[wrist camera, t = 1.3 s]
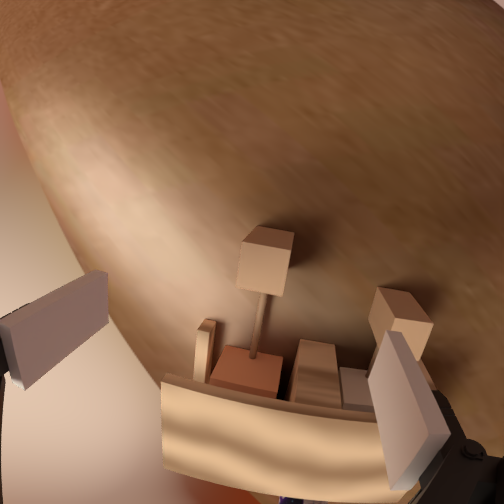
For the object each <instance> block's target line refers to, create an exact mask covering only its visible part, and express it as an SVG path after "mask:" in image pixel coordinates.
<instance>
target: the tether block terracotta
mask: <svg viewBox="0 0 504 504" xmlns="http://www.w3.org/2000/svg"><path fill="white" fill-rule="evenodd" d="M293 239H294V232H289V231H284V230H278V229H273V228H267V227H261V226H256V227H255V228H254V229H253V231H252V232H251V233H250V234H249V235H248V236H247V237H246V238H245V239H244V240H243V241H242V246H241V253H240V259H239V266H238V273H237V280H236V288H241V289H246V290H251V291H256V292H260V296H259V302H258V307H257V313H256V319H255V325H254V330H253V336H252V342H251V347H250V350H246V349H241V348H237V347H232V346H228V345H225V347H224V350H223V352H222V354H221V356H220V358H219V360H218V362H217V364H216V366H215V368H214V370H213V372H212V374H211V376H210V382H209V385H213V386H217V387H221V388H226V389H230V390H234V391H239V392H243V393H248V394H252V395H257V396H262V397H267V398H272V399H276V396H277V392H278V386H279V380H280V374H281V367H282V361H283V357H281V356H275V355H270V354H265V353H260V352H257V349H258V344H259V338H260V333H261V328H262V322H263V317H264V312H265V306H266V301H267V295H268V294H271V295H276V296H282V295H283V290H284V286H285V281H286V276H287V271H288V266H289V260H290V255H291V250H292V244H293Z"/></svg>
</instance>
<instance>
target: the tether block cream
mask: <svg viewBox="0 0 504 504" xmlns="http://www.w3.org/2000/svg"><path fill="white" fill-rule="evenodd" d="M368 321H369V323H370V326H371V329H372V331H373V334H374V337H375V340H376V342H377V345H376V348H375V351H374V354H373V356H372V359H371V362H370V365H369V367H368V370H360V369H353V368H346V367H340V368H339V371H338V377H339V386H340V396H341V406H342V410H351V411H360V412H371V413H375V410H374V405H373V401H372V397H371V392H370V388H369V384H368V378H369V376H370V373H371V370H372V368H373V365H374V362H375V360H376V357H377V354H378V351H379V349H380V346H381V343H382V340H383V337H384V334H385V331H386V330H390V331H397V332H402V334H403V336H404V338H405V340H406V342H407V344H408V346H409V347H410V349H411V351H412V353H413V355H414V357H415V359H416V361H419V360H420V357H421V355H422V353H423V350H424V348H425V345H426V343H427V340H428V337H429V335H430V332H431V329H432V327H433V322H432V321H431V320H430V318H429V317H428V316H427V314H426V313H425V312H424V310H423V309H422V308H421V306H420V305H419V304H418V303H417V301H416V300H415V299H414V297H413V296H412V295H411V294H410V292H405V291H400V290H394V289H388V288H383V287H377V290H376V293H375V297H374V300H373V304H372V307H371V311H370V314H369V317H368Z"/></svg>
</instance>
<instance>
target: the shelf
mask: <svg viewBox="0 0 504 504" xmlns="http://www.w3.org/2000/svg"><path fill="white" fill-rule="evenodd" d="M215 329H216V321H212V320H208V319H205V320H204V321H203V322H202V324H201V325H200V327H199V328H198V329H197V339H196V351H195V363H194V377H193V380H191V379H187V378H183V377H180V376H176V375H173V374H170V373H167V374H166V375H165V377H164V378H163V379H162V381H161V414H162V415H161V417H162V447H163V467H164V468H165V469H169V470H172V471H175V472H178V473H181V474H184V475H188V476H191V477H194V478H198V479H202V480H206V481H209V482H213V483H217V484H221V485H225V486H229V487H234V488H239V489H243V490H248V491H253V492H259V493H264V494H270V495H277V496H283V497H291V498H299V499H308V500H318V501H331V502H350V503H396V502H398V501H399V500H400V499H401V498H402V496H403V495H404V494H405V493H406V492H407V490H395V491H390V487H389V481H388V475H387V469H386V464H385V459H384V453H383V448H382V443H381V438H380V433H379V428H378V424H377V419H376V414H375V413H371V412H360V411H351V410H342V406H341V396H340V386H339V377H338V368H337V360H336V352H335V345H334V344H328V343H322V342H316V341H310V340H305V339H300V342H299V346H298V350H297V354H296V358H295V362H294V365H293V369H292V373H291V377H290V381H289V384H288V388H287V391H286V395H285V399H284V401H283V400H277V399H272V398H267V397H262V396H257V395H252V394H248V393H243V392H239V391H234V390H230V389H226V388H221V387H217V386H213V385H209V382H210V373H211V364H212V355H213V346H214V337H215ZM417 363H418V365H419V367H420V369H421V371H422V373H423V375H424V377H425V379H426V381H427V383H428V385H429V387H430V389H431V390H437V389H436V387H435V385H434V383H433V381H432V379H431V377H430V375H429V373H428V371H427V369H426V368H425V366H424V364H423V362H422V360H421V358H420V360H419V361H417Z"/></svg>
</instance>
